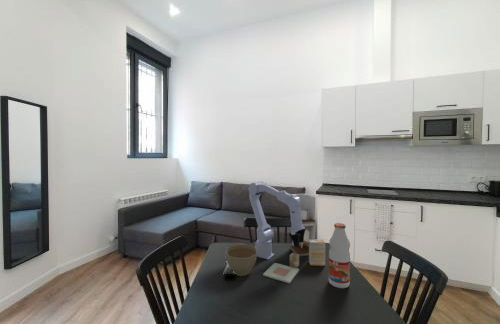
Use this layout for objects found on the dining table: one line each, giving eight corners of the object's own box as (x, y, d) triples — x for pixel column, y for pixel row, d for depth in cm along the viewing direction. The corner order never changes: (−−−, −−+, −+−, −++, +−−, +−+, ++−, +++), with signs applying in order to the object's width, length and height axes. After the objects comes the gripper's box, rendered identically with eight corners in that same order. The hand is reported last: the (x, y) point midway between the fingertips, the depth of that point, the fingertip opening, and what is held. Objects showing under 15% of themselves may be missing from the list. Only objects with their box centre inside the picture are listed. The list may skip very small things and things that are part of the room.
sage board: (262, 275, 118) (262, 273, 118) (274, 264, 130) (274, 262, 130) (289, 283, 111) (289, 281, 111) (299, 270, 123) (299, 268, 123)
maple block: (289, 266, 128) (289, 255, 128) (292, 263, 132) (292, 252, 131) (296, 268, 126) (296, 257, 126) (299, 265, 130) (299, 254, 129)
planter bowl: (220, 277, 117) (220, 255, 116) (232, 262, 132) (232, 243, 132) (252, 282, 112) (252, 259, 112) (260, 266, 128) (260, 246, 127)
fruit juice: (353, 283, 111) (354, 224, 110) (343, 291, 105) (344, 229, 104) (334, 275, 118) (335, 220, 117) (324, 282, 112) (325, 224, 111)
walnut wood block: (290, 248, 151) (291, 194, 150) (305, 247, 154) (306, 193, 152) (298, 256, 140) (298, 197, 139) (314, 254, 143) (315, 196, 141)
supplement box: (323, 262, 133) (323, 239, 132) (325, 266, 128) (325, 242, 127) (308, 261, 134) (308, 238, 133) (309, 265, 129) (310, 241, 128)
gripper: (299, 222, 120) (302, 249, 119) (307, 216, 132) (310, 240, 132) (286, 222, 123) (288, 248, 122) (295, 216, 136) (298, 240, 135)
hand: (299, 244), depth 127 cm, fingers open, 7 cm apart
